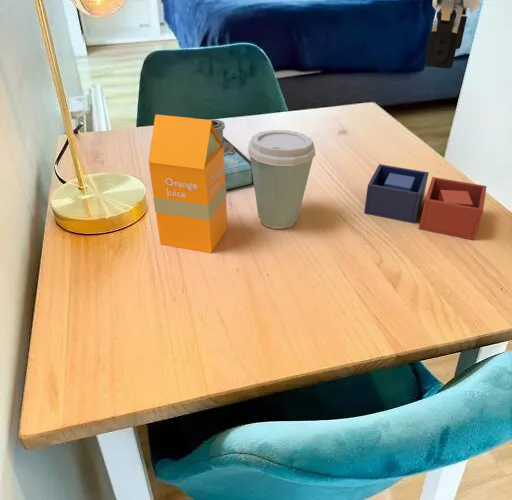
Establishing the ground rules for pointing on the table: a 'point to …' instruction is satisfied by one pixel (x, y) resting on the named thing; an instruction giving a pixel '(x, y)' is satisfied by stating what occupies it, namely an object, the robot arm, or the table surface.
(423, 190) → the blue bin
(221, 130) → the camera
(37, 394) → the table surface
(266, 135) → the disposable coffee cup
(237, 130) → the table surface
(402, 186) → the blue block
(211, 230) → the orange juice
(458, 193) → the red block
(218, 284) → the table surface
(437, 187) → the red bin
